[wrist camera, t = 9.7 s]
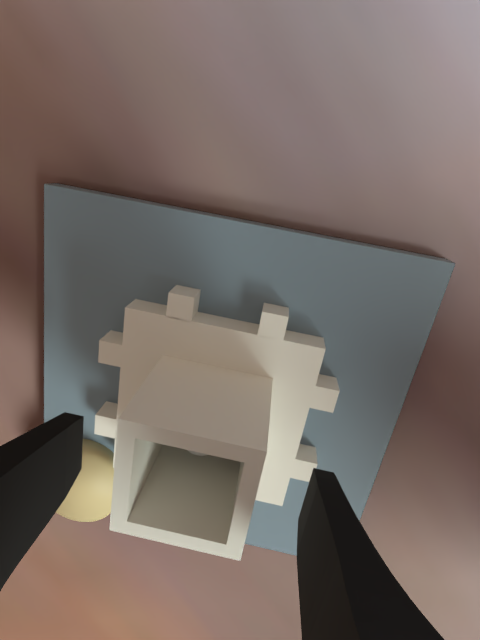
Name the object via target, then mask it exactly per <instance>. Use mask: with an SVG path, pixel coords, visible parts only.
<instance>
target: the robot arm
mask: <svg viewBox="0 0 480 640" xmlns="http://www.w3.org/2000/svg"><path fill="white" fill-rule="evenodd" d="M83 424H84V416H80V415H76V414H71V413H67V412H64V413H62V414H60V415H58V416H56V417H54V418H53V419H51V420H49V421H47V422H45V423H43V424H41V425H40V426H38V427H36V428H34V429H32V430H30V431H29V432H27V433H25V434H23V435H21V436H19V437H17V438H15V439H13V440H11V441H9V442H8V443H6V444H4V445H2V446H0V591H1V589H2V587H3V586H4V584H5V582H6V581H7V579H8V578H9V576H10V575H11V573H12V572H13V571H14V569H15V568H16V566H17V565H18V563H19V562H20V561H21V559H22V558H23V556H24V555H25V554H26V552H27V551H28V550H29V548H30V547H31V545H32V544H33V543H34V541H35V540H36V539H37V537H38V536H39V534H40V533H41V532H42V530H43V529H44V528H45V526H46V525H47V523H48V522H49V521H50V519H51V518H52V516H53V515H54V514H55V512H56V511H57V509H58V508H59V507H60V505H61V504H62V502H63V501H64V500H65V498H66V496H67V494H68V493H69V491H70V489H71V487H72V486H73V484H74V482H75V480H76V478H77V476H78V475H79V473H80V471H81V469H82V447H83ZM297 568H298V584H299V599H300V614H301V629H302V640H444V639H443V638H442V636H441V635H440V634H439V633H438V632H437V631H436V629H435V628H434V627H433V626H432V625H431V624H430V622H429V621H428V620H427V619H426V618H425V616H424V615H423V614H422V613H421V612H420V610H419V609H418V608H417V607H416V605H415V604H414V603H413V602H412V600H411V599H410V598H409V596H408V595H407V594H406V592H405V591H404V590H403V588H402V587H401V586H400V584H399V583H398V582H397V580H396V579H395V577H394V576H393V574H392V573H391V572H390V570H389V569H388V567H387V566H386V564H385V563H384V561H383V559H382V558H381V556H380V555H379V553H378V552H377V550H376V549H375V547H374V545H373V544H372V542H371V540H370V539H369V537H368V535H367V533H366V532H365V530H364V528H363V527H362V525H361V523H360V521H359V520H358V518H357V516H356V514H355V512H354V510H353V509H352V507H351V505H350V503H349V501H348V499H347V497H346V495H345V493H344V491H343V489H342V487H341V485H340V483H339V481H338V479H337V477H336V475H335V474H334V472H330V471H325V470H321V469H316V468H313V471H312V475H311V478H310V481H309V485H308V488H307V491H306V495H305V498H304V501H303V505H302V508H301V511H300V515H299V518H298V533H297Z"/></svg>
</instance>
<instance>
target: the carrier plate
mask: <svg viewBox="0 0 480 640" xmlns="http://www.w3.org/2000/svg"><path fill="white" fill-rule="evenodd" d="M454 266H455V263H453V262H451V261H450V260H448V259H445V258H440V257H434V256H429V255H424V254H419V253H414V252H409V251H403V250H398V249H393V248H388V247H383V246H378V245H373V244H367V243H362V242H357V241H352V240H347V239H342V238H336V237H331V236H326V235H321V234H316V233H311V232H306V231H300V230H295V229H290V228H285V227H280V226H275V225H269V224H264V223H259V222H254V221H249V220H244V219H238V218H233V217H228V216H223V215H218V214H213V213H208V212H202V211H197V210H192V209H187V208H182V207H177V206H171V205H166V204H161V203H156V202H151V201H146V200H140V199H135V198H130V197H125V196H120V195H115V194H110V193H104V192H99V191H94V190H89V189H84V188H79V187H73V186H68V185H63V184H58V183H51V184H44V423H45V422H47V421H49V420H51V419H53V418H54V417H56V416H58V415H60V414H62V413H64V412H67V413H71V414H76V415H80V416H84V424H83V447H82V469H81V471H80V473H79V475H78V476H77V478H76V480H75V482H74V484H73V486H72V487H71V489H70V491H69V493H68V494H67V496H66V498H65V500H64V501H63V502H62V504H61V505H60V507H59V508H58V509H57V511H56V513H58V514H59V515H61V516H63V517H66V518H68V519H71V520H75V521H80V522H92V521H97V520H100V519H102V518H104V517H106V516H107V515H109V514H110V513H111V503H112V490H113V477H114V468H113V458H114V445H115V438H110V437H106V436H101V435H97V434H94V429H95V415H96V413H97V412H98V411H99V410H100V408H101V407H102V406H103V405H104V403H105V402H106V401H107V402H112V403H117V404H118V393H119V380H120V367H117V366H113V365H108V364H103V363H99V362H98V355H99V340H100V339H101V338H102V337H104V336H105V335H106V334H107V333H108V332H109V331H110V330H113V331H117V332H122V333H123V328H124V315H125V307H126V306H127V305H129V304H130V303H131V302H132V301H134V300H135V299H138V300H143V301H148V302H153V303H157V304H162V305H167V302H168V293H169V292H170V291H171V290H172V289H173V288H174V287H175V286H176V285H180V286H185V287H190V288H195V289H200V290H201V292H200V299H199V306H198V312H201V313H206V314H211V315H216V316H221V317H225V318H230V319H235V320H240V321H245V322H250V323H254V324H260V319H261V314H262V310H263V305H264V303H268V304H273V305H278V306H283V307H288V308H289V318H288V323H287V327H286V330H288V331H293V332H298V333H303V334H308V335H313V336H318V337H322V338H324V343H325V348H326V350H325V354H324V357H323V361H322V365H321V368H320V372H319V374H321V375H326V376H331V377H336V378H337V382H338V386H339V391H340V392H339V395H338V398H337V402H336V405H335V408H334V412H333V413H331V412H327V411H322V410H317V409H313V408H309V412H308V415H307V419H306V422H305V426H304V430H303V433H302V437H301V440H300V444H303V445H308V446H312V447H316V453H317V463H318V464H317V468H316V469H321V470H325V471H330V472H334V474H335V475H336V477H337V479H338V481H339V483H340V485H341V487H342V489H343V491H344V493H345V495H346V497H347V499H348V501H349V503H350V505H351V507H352V509H353V510H354V512H355V514H356V516H357V518H358V520H359V521H360V518H361V516H362V513H363V510H364V507H365V505H366V502H367V499H368V497H369V494H370V491H371V489H372V486H373V483H374V481H375V478H376V475H377V473H378V470H379V467H380V465H381V462H382V459H383V457H384V454H385V451H386V448H387V446H388V443H389V440H390V438H391V435H392V432H393V430H394V427H395V424H396V422H397V419H398V416H399V414H400V411H401V408H402V406H403V403H404V400H405V398H406V395H407V392H408V390H409V387H410V384H411V381H412V379H413V376H414V373H415V371H416V368H417V365H418V363H419V360H420V357H421V355H422V352H423V349H424V347H425V344H426V341H427V339H428V336H429V333H430V331H431V328H432V325H433V322H434V320H435V317H436V314H437V312H438V309H439V306H440V304H441V301H442V298H443V296H444V293H445V290H446V288H447V285H448V282H449V280H450V277H451V274H452V272H453V269H454ZM188 451H189V452H190V453H192V454H194V455H198V456H205V455H208V454H203V453H199V452H194V451H190V450H188ZM308 485H309V482H307V481H302V480H298V479H293V478H290V480H289V484H288V487H287V491H286V495H285V498H284V502H283V505H282V506H279V505H275V504H270V503H266V502H261V501H257V500H255V503H254V507H253V511H252V515H251V519H250V523H249V527H248V532H247V536H246V540H245V544H249V545H253V546H257V547H262V548H266V549H270V550H275V551H279V552H283V553H287V554H292V555H296V556H297V533H298V518H299V515H300V511H301V508H302V505H303V501H304V498H305V495H306V491H307V488H308Z"/></svg>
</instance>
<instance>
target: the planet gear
mask: <svg viewBox="0 0 480 640" xmlns="http://www.w3.org/2000/svg"><path fill="white" fill-rule="evenodd" d="M200 292H201V290H200V289H195V288H190V287H185V286H180V285H176V286H175V287H174V288H173V289H172V290H171V291H170V292H169V293H168V302H167V305H162V304H157V303H153V302H148V301H143V300H138V299H135V300H134V301H132V302H131V303H130V304H129V305H127V306H126V307H125V315H124V328H123V333H122V332H117V331H113V330H110V331H109V332H108V333H107V334H106V335H105V336H104V337H102V338H101V339H100V340H99V355H98V362H99V363H103V364H108V365H113V366H117V367H120V380H119V393H118V404H117V403H112V402H107V401H106V402H105V403H104V405H103V406H102V407H101V408H100V410H99V411H98V412H97V413H96V415H95V429H94V434H97V435H101V436H106V437H110V438H115V445H114V458H113V468H114V477H113V490H112V503H111V516H110V529H109V530H111V531H115V532H120V533H124V534H128V535H132V536H137V537H141V538H145V539H149V540H154V541H158V542H162V543H166V544H171V545H175V546H179V547H183V548H188V549H192V550H196V551H200V552H205V553H209V554H213V555H217V556H222V557H226V558H230V559H234V560H239V561H240V560H241V556H242V552H243V548H244V544H245V540H246V536H247V532H248V527H249V523H250V519H251V515H252V511H253V507H254V503H255V500H257V501H261V502H266V503H270V504H275V505H279V506H282V505H283V502H284V498H285V495H286V491H287V487H288V484H289V480H290V478H293V479H298V480H302V481H307V482H309V481H310V478H311V475H312V471H313V468H317V464H318V463H317V453H316V447H312V446H308V445H303V444H300V440H301V437H302V433H303V430H304V426H305V422H306V419H307V415H308V412H309V408H313V409H317V410H322V411H327V412H331V413H333V412H334V408H335V405H336V402H337V398H338V395H339V392H340V391H339V386H338V382H337V378H336V377H331V376H326V375H321V374H319V372H320V368H321V365H322V361H323V357H324V354H325V350H326V348H325V343H324V338H322V337H318V336H313V335H308V334H303V333H298V332H293V331H288V330H286V327H287V323H288V318H289V308H288V307H283V306H278V305H273V304H268V303H264V305H263V310H262V314H261V319H260V324H254V323H250V322H245V321H240V320H235V319H230V318H225V317H221V316H216V315H211V314H206V313H201V312H198V306H199V299H200ZM188 450H190V451H194V452H199V453H203V454H208V455H205V456H198V455H194V454H192V453H190V452H189V451H188Z"/></svg>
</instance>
